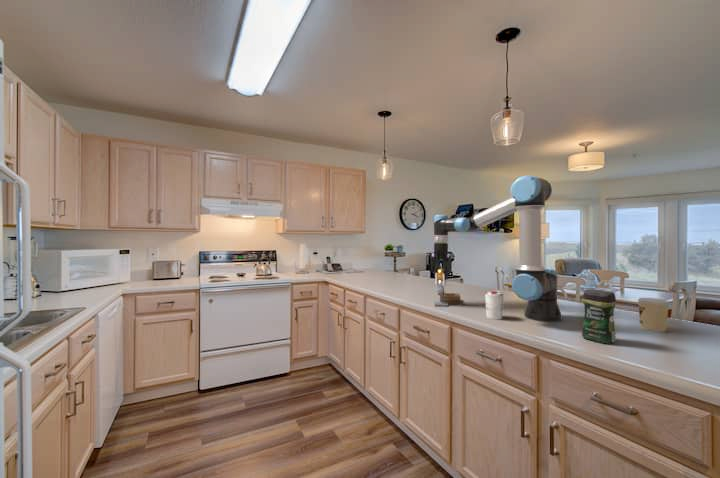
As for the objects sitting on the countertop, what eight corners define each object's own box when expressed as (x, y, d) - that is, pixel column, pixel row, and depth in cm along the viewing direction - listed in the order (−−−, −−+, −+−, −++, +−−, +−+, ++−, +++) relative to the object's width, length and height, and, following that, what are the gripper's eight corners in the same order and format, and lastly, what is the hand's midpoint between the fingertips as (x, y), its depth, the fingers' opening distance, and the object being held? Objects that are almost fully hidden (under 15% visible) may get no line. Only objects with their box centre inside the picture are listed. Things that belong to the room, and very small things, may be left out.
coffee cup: (638, 324, 136) (639, 296, 136) (669, 328, 130) (669, 299, 129) (636, 329, 130) (636, 299, 130) (668, 334, 123) (668, 303, 123)
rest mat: (447, 306, 171) (447, 304, 171) (434, 306, 173) (434, 304, 173) (447, 303, 178) (447, 302, 178) (434, 303, 180) (434, 301, 180)
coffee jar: (578, 338, 119) (578, 289, 119) (589, 334, 123) (589, 287, 123) (609, 346, 111) (609, 293, 110) (619, 342, 115) (619, 291, 114)
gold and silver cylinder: (445, 294, 176) (446, 269, 175) (442, 295, 173) (442, 270, 172) (439, 293, 178) (439, 269, 178) (435, 294, 175) (435, 269, 175)
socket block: (460, 304, 177) (460, 297, 177) (440, 303, 180) (440, 296, 180) (459, 300, 188) (459, 293, 188) (440, 299, 191) (440, 292, 191)
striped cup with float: (508, 320, 144) (508, 294, 144) (489, 320, 144) (489, 294, 144) (498, 314, 154) (498, 290, 154) (481, 314, 154) (481, 290, 154)
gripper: (424, 242, 178) (424, 283, 179) (451, 243, 166) (451, 287, 167) (431, 242, 183) (431, 282, 184) (458, 242, 172) (458, 285, 172)
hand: (440, 284), depth 175 cm, fingers closed on gold and silver cylinder, 4 cm apart
